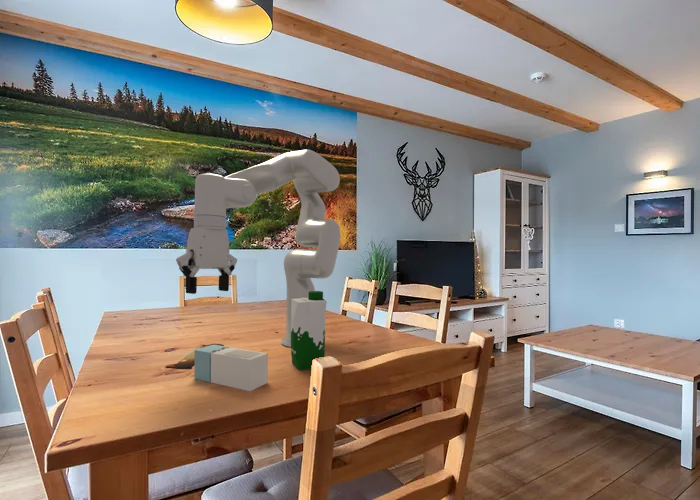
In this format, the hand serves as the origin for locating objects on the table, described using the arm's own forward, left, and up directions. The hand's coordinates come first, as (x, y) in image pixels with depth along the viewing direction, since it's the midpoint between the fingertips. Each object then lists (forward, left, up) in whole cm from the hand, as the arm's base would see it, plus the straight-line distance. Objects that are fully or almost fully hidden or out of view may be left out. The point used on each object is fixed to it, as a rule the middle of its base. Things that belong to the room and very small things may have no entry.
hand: (208, 292), depth 94 cm
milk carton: (-18, +18, -21) cm, 33 cm away
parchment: (-11, -15, -21) cm, 28 cm away
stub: (+1, +2, -21) cm, 21 cm away
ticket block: (+1, +11, -21) cm, 24 cm away
